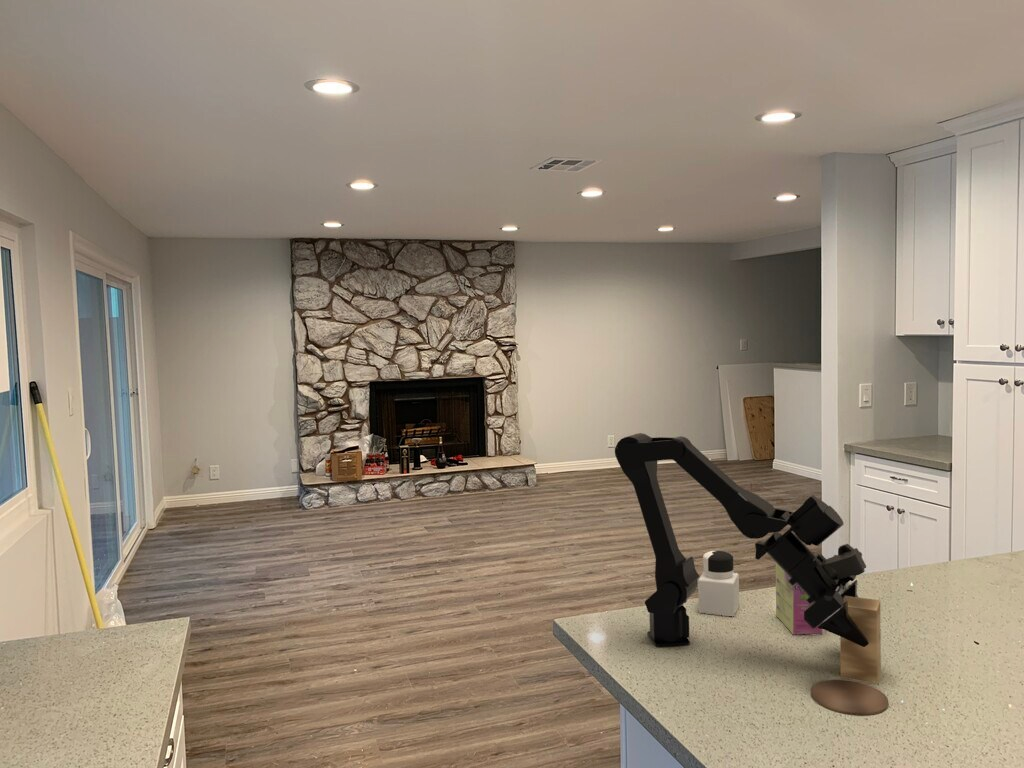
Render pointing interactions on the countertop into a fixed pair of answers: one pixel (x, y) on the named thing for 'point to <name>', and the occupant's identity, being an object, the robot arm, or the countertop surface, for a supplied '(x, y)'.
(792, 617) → the box
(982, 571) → the countertop surface
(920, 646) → the countertop surface
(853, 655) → the oak block
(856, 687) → the coaster
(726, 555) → the medicine bottle
